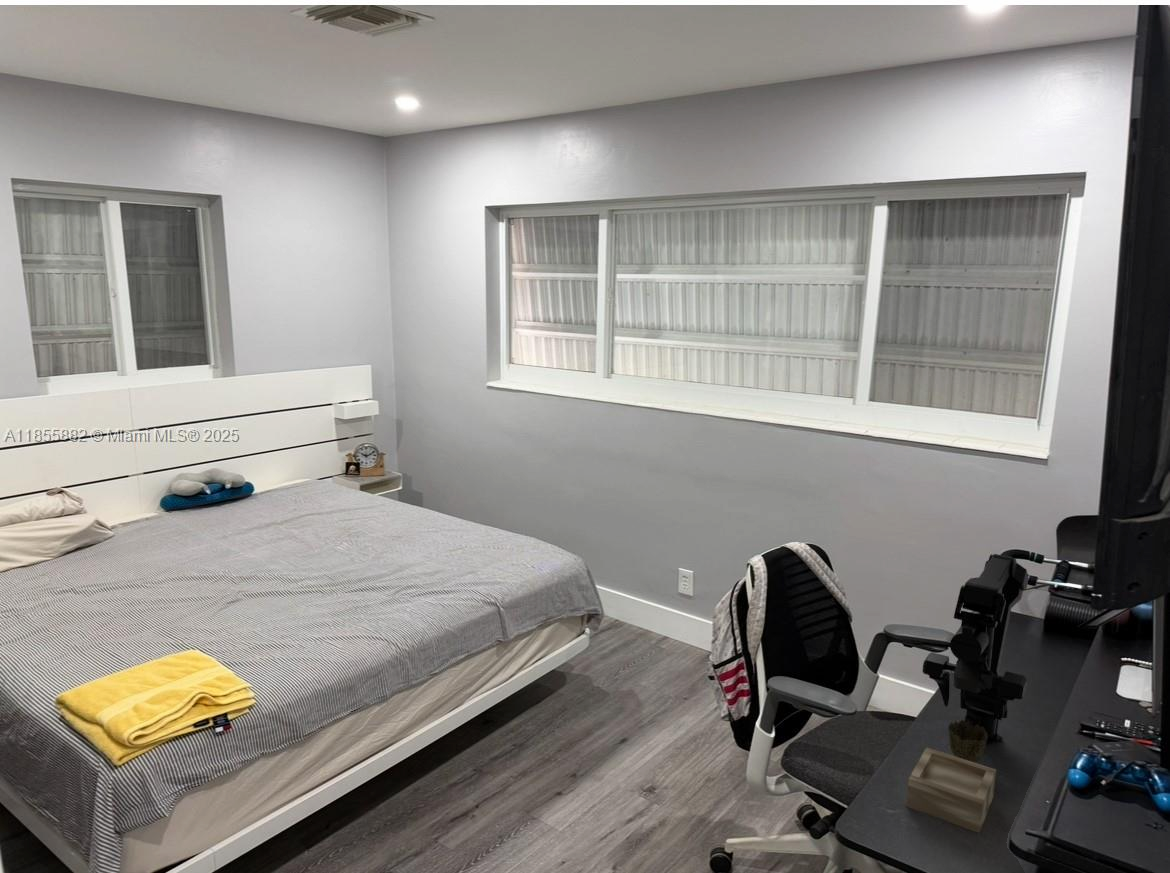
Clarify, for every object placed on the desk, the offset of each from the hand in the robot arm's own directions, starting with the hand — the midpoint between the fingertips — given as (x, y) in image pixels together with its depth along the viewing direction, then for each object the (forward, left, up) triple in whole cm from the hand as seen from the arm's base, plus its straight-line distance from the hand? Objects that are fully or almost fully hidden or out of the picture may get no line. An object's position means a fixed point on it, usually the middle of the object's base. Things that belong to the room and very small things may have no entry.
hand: (970, 712), depth 168 cm
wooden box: (+12, +9, -12) cm, 19 cm away
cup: (0, 0, -12) cm, 12 cm away
